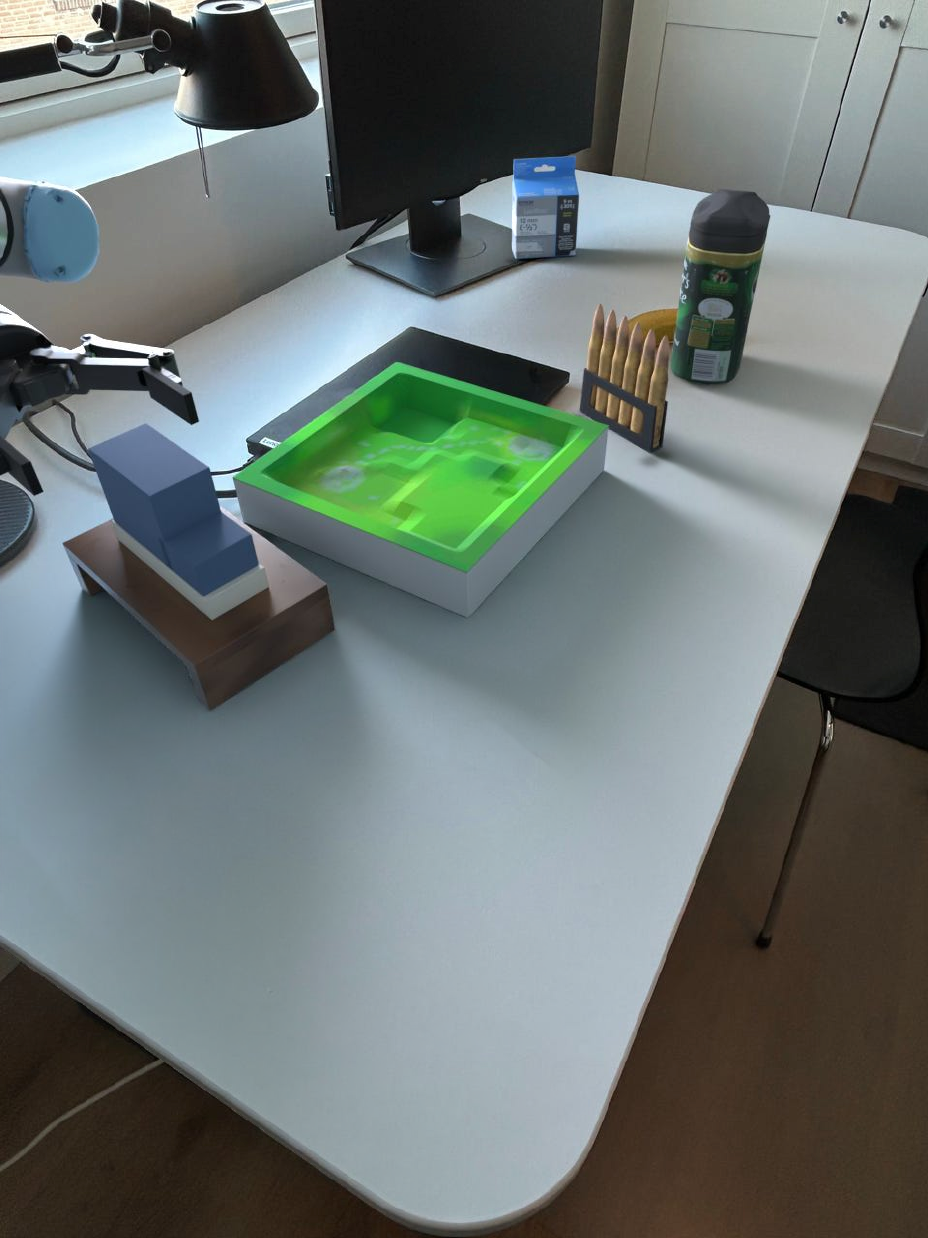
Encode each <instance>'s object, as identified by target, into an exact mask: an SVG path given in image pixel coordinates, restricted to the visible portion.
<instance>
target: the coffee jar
mask: <svg viewBox="0 0 928 1238" xmlns="http://www.w3.org/2000/svg"><path fill="white" fill-rule="evenodd" d="M770 219H771V214H770V207H769V206H768V204H767V203H766V202H765V200H763V199H762V198H761V197H760V196H759V195H758V193H756V192H755V191H749V190H739V189H723V188H719V189H717V190H716V191H715V192H713V193H711V194H709V195H707V196H706V197H704V198H702V199H701V200H700V201H699V202H698V203H697V204H696V206H695V208H694V210H693V212H692V216H691V220H690V227H689V231H688V236H687V242H686V249H685V255H684V261H683V262H684V263H683V267H682V268H683V269H682V275H681V284H680V290H679V298H678V306H677V313H676V320H675V327H674V334H673V341H672V347H671V348H672V349H671V354H670V355H671V357H670V371H671V373H672V374H673V376H675V377H678V378H680V379H682V380H684V381H687V382H689V383H692V384H695V385H705V386H710V385H717V384H718V385H719V384H727V383H730V382H731V381H733V379H735V378H736V376H737V374H738V372H739V371H740V367H741V362H742V360H743V359H742V358H743V353H744V349H745V344H746V339H747V334H748V328H749V323H750V318H751V313H752V308H753V303H754V298H755V295H756V290H757V284H758V279H759V275H760V269H761V264H762V259H763V255H764V250H765V244H766V240H767V234H768V229H769V225H770Z"/></svg>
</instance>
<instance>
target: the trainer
mask: <svg viewBox="0 0 928 1238" xmlns="http://www.w3.org/2000/svg"><path fill="white" fill-rule="evenodd" d="M87 451H88V454H89V456H90V460H91V462H92V464H93V468H94V470H95V473H96V475H97V478H98V481H99V483H100V486H101V488H102V491H103V494H104V496H105V500H106V502H107V505H108V507H109V510H110V513H111V516H112V519H113V518H114V519H113V520H111V519H110V520H111V522H112V525H113V528H114V530H115V533H116V536H117V538H118V540H119V541H120V542H121V543H123V544H124V545H125V546H126V547H127V548H128V549H130V550H131V551H132V552H133V553H134V554H135V555H137V556H138V557H139V558H140V559H141V560H142V561H144V562H145V563H146V564H147V565H148V566H149V567H151V568H152V569H153V570H154V571H155V572H156V573H158V574H159V575H160V576H161V577H162V578H163V579H164V580H166V581H167V582H168V583H169V584H170V585H171V586H173V587H174V588H175V589H176V590H177V591H178V592H180V593H181V594H182V595H183V596H184V597H185V598H187V599H188V600H189V601H190V602H191V603H192V604H194V605H195V606H196V607H197V608H198V609H199V610H201V611H202V612H203V613H204V614H205V615H206V616H208V617H209V618H210V619H211V620H214V619H215V618H217V617H219V616H221V615H222V614H224V613H226V612H227V611H229V610H231V609H232V608H234V607H236V606H237V605H239V604H241V603H243V602H244V601H246V600H248V599H249V598H251V597H253V596H254V595H256V594H258V593H260V592H261V591H263V590H265V589H266V588H268V587H269V585H268V581H267V577H266V573H265V568H264V567H263V566H262V565H260V564H259V562H258V558H257V554H256V550H255V546H254V541H253V537H252V534H251V533H249V532H248V531H247V530H245V529H244V528H243V527H241V526H240V525H239V524H237V523H236V522H234V521H233V520H232V519H230V518H229V517H228V516H226V515H225V514H224V513H222V512H221V509H220V506H221V505H220V502H219V498H218V495H217V490H216V486H215V484H214V480H213V475H212V472H211V468H210V466H208V465H206V463H204V462H202V461H201V460H200V459H198V458H197V457H195V456H193V454H191V453H189V451H186V450H185V449H184V448H182V447H181V446H179V445H178V444H176V443H175V442H174V441H172V440H171V439H169V438H168V437H167V436H165V435H163V434H162V433H161V432H159V430H156V429H155V428H153V426H151V425H150V424H148V423H142V424H141V425H139V426H137V427H134V428H132V429H129V430H127V431H125V432H123V433H120V434H118V435H116V436H113V437H111V438H109V439H107V440H105V441H102V442H100V443H98V444H95V445H93V446H90V447H88V448H87Z"/></svg>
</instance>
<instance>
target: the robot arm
mask: <svg viewBox="0 0 928 1238" xmlns="http://www.w3.org/2000/svg"><path fill="white" fill-rule="evenodd" d="M85 199H86V198H84V197H83V196H82V195H80V194H79V193H78V192H77V191H75V190H73V189H71V188H69V187H66V186H60V185H55V184H51V183H49V182H47V181H39V180H36V181H29V180H28V181H27V180H21V179H15V178H10V177H5V176H0V276H5V277H18V278H26V279H33V280H39V282H43V283H65V284H71V283H77V282H79V281H81V280H83V279H84V278H86V277H87V276H88V275H89V274H90V273H91V272H92V271H93V269H94V267H95V265H96V263H97V261H98V258H99V255H100V238H99V235H100V229H99V224H98V220H97V218H96V215H95V213H94V211H93V209H92V208H91V206H90V204H89V203H88V202H87V200H85ZM79 338H80V342H81V346H78V347H76V348H74V349H72V350H69V349H67V348H66V347H58V346H55V345H54V343H53V342H52V341H51V340H50V339H49V338H48V337H47V336H46V335H45V334H43V332H42V331H40V330H38V329H37V328H35V326H32V325H31V324H30V323H28V322H27V321H25V320H23V318H21V317H20V316H19V315H17V314H16V313H14V312H13V311H11V310H9V309H8V308H7V307H5V306H3V305H1V304H0V476H3V475H5V474H7V473H8V474H9V475H10V476H11V477H13V478H14V479H15V480H16V481H17V482H18V483H19V484H20V485H21V486H22V487H23V488H24V489H25V490H26V491H28V492H29V493H30V494H31V495H33V497H35V496H37V495H38V496H39V495H40V494H43V493H44V491H45V490H44V489H43V487H42V484H41V482H40V480H39V478H38V476H37V473H36V471H35V467H34V466H33V464H32V461H31V460H30V459H28V457H26V456H25V455H24V454H23V453H22V452H20V451H19V450H18V449H17V448H16V447H15V446H13V445H12V444H11V443H10V442H9V441H8V440H7V439H6V438H7V437H8V435H9V433H10V431H11V430H12V428H13V426H14V423H15V422H21V421H22V418H23V417H24V415H25V413H26V411H27V409H30V408H31V407H36V406H38V405H41V404H43V403H45V402H46V401H48V400H52V399H54V398H58V397H61V396H64V395H79V396H80V395H84V396H85V395H88V394H89V393H90V391H120V392H121V391H122V392H123V391H124V392H125V391H126V392H127V391H128V392H148V395H149V397H150V399H152V400H153V401H154V402H157V403H158V404H159V405H161V406H162V407H164V408H165V409H167V410H168V411H170V412H171V413H173V414H174V415H176V416H177V417H178V418H180V419H182V420H183V421H185V422H186V423H187V424H189V425H191V426H193V425H195V424H198V423H199V422H200V419H199V415H198V411H197V407H196V403H195V400H194V396H193V393H192V391H191V390H188V389H187V388H185V387H184V386H183V381H182V378H181V374H180V370H179V366H178V363H177V359H176V356H175V351H174V350H172V349H169V348H167V349H166V348H161V347H154V346H148V345H141V344H135V343H128V342H121V341H115V340H110V339H105V338H104V339H103V338H101V337H100V336H97V335H95V334H92V333H87V334H83V335H82V336H80V337H79ZM74 379H75V381H76V382H74Z"/></svg>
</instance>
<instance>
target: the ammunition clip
mask: <svg viewBox="0 0 928 1238" xmlns="http://www.w3.org/2000/svg"><path fill="white" fill-rule="evenodd" d="M605 322H606V323H605ZM617 325H618V323H617V315H616V312H615V310H614V309H611V310H610V312H609V314H608V316H607V319H606V321H605V312H604V306H603V304H602V303H599V304H598V306H597V307H596V310H595V312H594V317H593V320H592V328H591V333H590V340H589V342H588V348H587V359H586V360H587V361H586V367H585V368H583V374H582V384H581V393H580V401H579V412H580V413H581V414H583V415H585V416H586V417H588V418H590V419H591V420H593V421H596V422H599V423H603V424H606V425H609V428H608V430H610V431H612V432H613V433H615V434H617V435H619V436H620V437H622V438H624V439H626V440H627V441H628V442H631V443H632V444H634V445H635V446H637V447H638V448H640V449H642V450H643V451H646V452H647V453H648V454H651V453H653V452H656V451H657V450H658V449H661V448H663V447H664V438H665V431H666V430H665V429H666V421H667V414H668V405H669V402H668V401H667V400H666V398H667V393H668V392H667V391H668V384H669V363H670V341H669V338H668V335H664V336H663V337H662V339H661V341H660V344H659V346H658V349H656V348H657V346H656V344H657V343H656V341H657V340H656V334H655V333H656V332H655V330H654V329H653V328H651V329H650V330H649V331H648V333H647V335H646V337H645V340H644V343H643V332H642V331H643V330H642V325H641V323H640V322H639V321H637V322H636V323H635V325H634V327H633V329H632V332H631V335H630V323H629V319H628V317H627V315H624V316H623V318H622V319H621V321H620V324H619V327H618V326H617ZM642 346H643V347H642ZM656 350H657V353H656Z"/></svg>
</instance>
